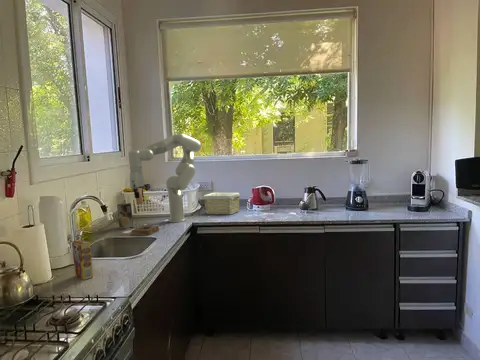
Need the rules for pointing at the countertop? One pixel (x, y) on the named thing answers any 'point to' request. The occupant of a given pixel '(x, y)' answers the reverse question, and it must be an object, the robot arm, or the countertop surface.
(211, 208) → the storage basket
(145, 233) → the hole block
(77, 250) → the candy box
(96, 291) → the countertop surface
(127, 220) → the coffee box
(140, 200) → the peg
